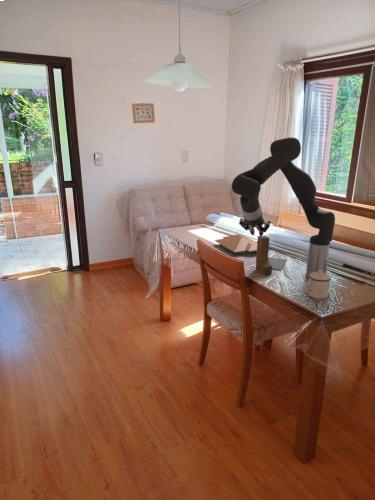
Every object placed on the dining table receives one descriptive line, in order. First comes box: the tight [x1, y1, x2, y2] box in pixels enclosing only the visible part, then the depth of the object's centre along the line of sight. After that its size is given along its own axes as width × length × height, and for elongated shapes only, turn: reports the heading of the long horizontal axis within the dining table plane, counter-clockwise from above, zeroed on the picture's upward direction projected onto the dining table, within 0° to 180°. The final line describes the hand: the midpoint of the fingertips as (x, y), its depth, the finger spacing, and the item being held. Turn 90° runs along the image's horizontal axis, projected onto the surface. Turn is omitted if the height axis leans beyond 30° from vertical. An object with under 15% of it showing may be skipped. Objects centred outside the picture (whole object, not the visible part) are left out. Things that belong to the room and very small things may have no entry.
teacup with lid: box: [304, 270, 332, 300], centre depth 159 cm, size 12×9×12 cm
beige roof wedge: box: [214, 233, 257, 257], centre depth 226 cm, size 23×33×8 cm
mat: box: [268, 256, 288, 271], centre depth 200 cm, size 13×18×1 cm
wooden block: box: [255, 235, 273, 276], centre depth 185 cm, size 9×4×18 cm, turn 19°
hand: (257, 234), depth 163 cm, fingers open, 3 cm apart
